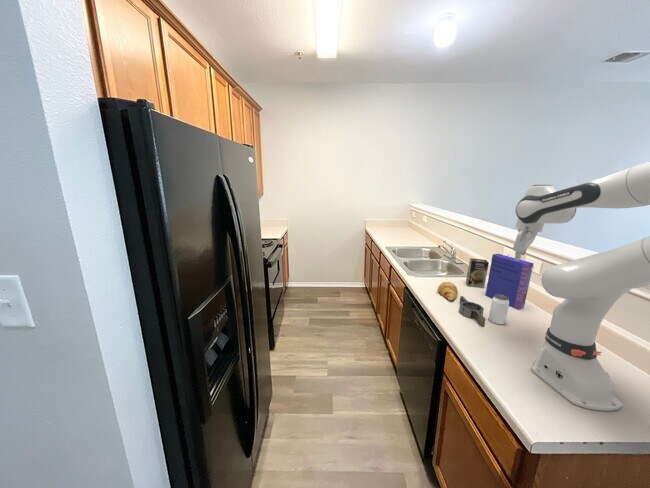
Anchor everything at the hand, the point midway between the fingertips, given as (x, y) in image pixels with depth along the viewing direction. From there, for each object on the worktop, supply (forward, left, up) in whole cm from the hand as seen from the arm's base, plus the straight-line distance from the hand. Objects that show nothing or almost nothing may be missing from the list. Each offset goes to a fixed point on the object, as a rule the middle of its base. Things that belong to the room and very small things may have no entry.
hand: (519, 257), depth 113 cm
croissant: (+31, +14, -32) cm, 47 cm away
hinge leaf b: (+12, +11, -32) cm, 36 cm away
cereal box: (+24, -13, -32) cm, 42 cm away
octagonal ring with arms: (+5, +11, -32) cm, 34 cm away
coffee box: (+45, -8, -32) cm, 55 cm away
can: (+3, +2, -32) cm, 32 cm away
